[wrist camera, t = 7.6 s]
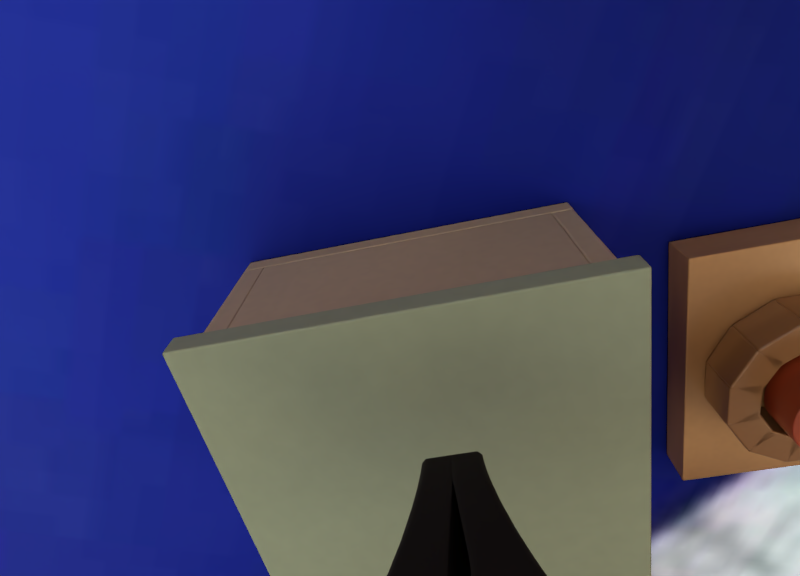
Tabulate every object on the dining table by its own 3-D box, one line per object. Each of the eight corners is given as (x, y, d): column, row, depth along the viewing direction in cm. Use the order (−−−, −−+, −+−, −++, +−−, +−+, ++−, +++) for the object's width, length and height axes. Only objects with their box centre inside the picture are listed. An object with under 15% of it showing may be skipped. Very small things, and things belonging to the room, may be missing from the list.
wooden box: (250, 262, 22) (187, 355, 15) (567, 201, 20) (636, 277, 14) (331, 489, 27) (308, 625, 21) (586, 452, 26) (642, 586, 20)
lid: (172, 337, 15) (161, 353, 14) (639, 253, 14) (652, 267, 13) (308, 626, 21) (304, 648, 20) (642, 587, 19) (651, 609, 19)
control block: (845, 428, 25) (908, 487, 22) (666, 454, 26) (702, 514, 22) (888, 202, 20) (977, 234, 17) (668, 241, 21) (714, 279, 18)
